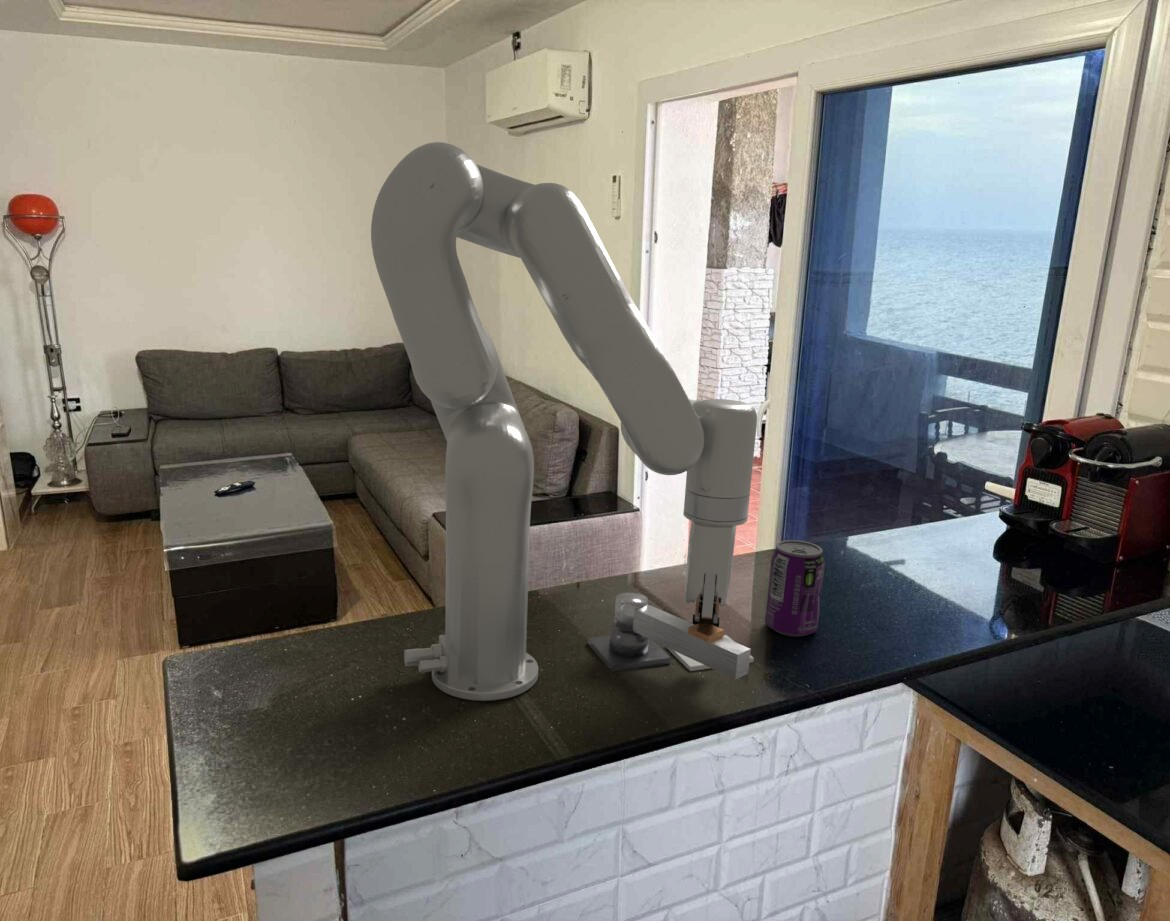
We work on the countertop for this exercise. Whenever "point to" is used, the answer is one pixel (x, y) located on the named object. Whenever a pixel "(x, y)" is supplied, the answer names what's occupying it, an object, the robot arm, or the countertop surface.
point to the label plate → (693, 664)
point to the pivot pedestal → (627, 650)
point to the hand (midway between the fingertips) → (703, 648)
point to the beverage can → (795, 588)
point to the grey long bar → (682, 635)
